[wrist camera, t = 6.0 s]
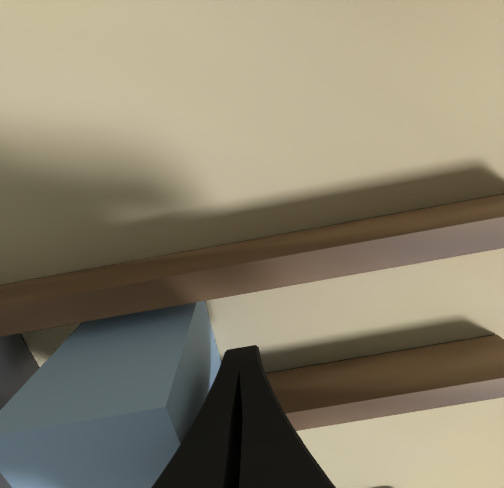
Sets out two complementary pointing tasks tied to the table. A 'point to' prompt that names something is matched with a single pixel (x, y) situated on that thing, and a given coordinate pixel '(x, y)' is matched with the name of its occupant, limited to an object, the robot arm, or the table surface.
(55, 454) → the block
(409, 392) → the guide rail
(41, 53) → the table surface
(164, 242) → the table surface
